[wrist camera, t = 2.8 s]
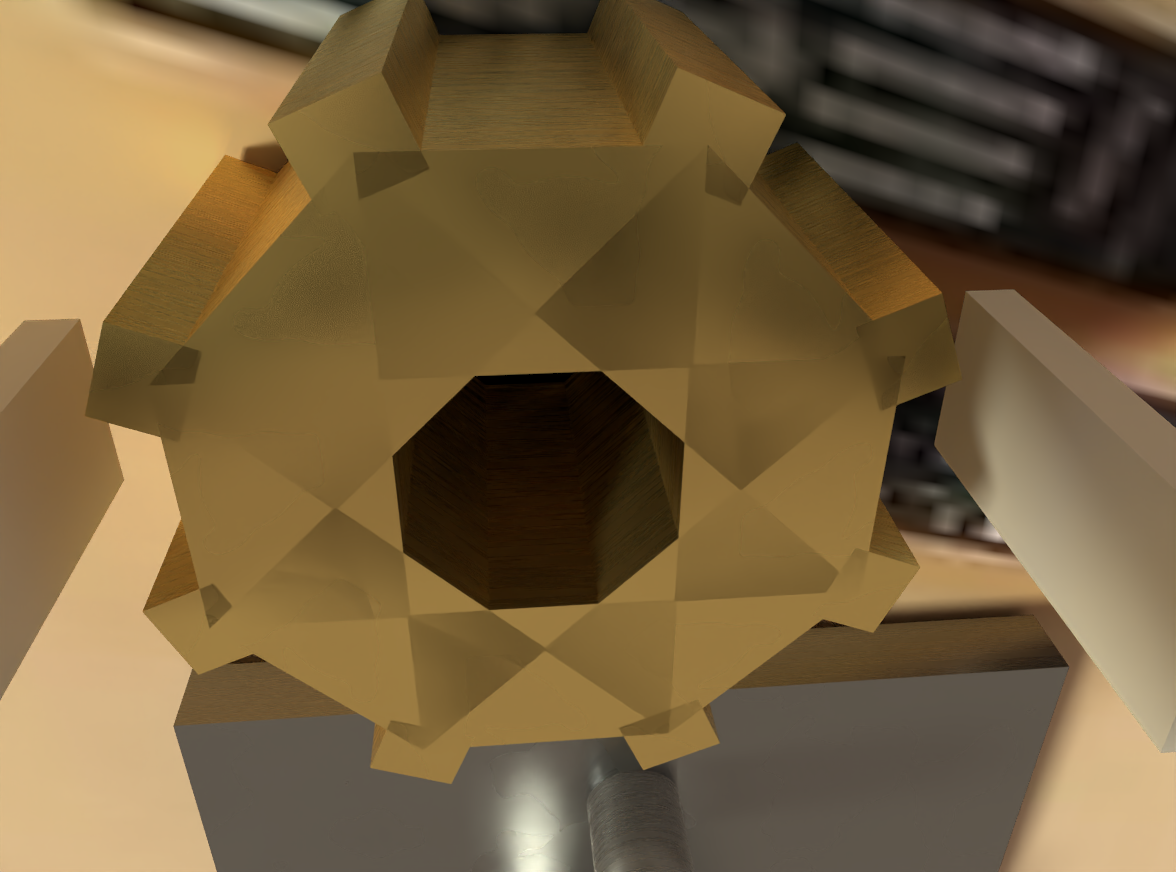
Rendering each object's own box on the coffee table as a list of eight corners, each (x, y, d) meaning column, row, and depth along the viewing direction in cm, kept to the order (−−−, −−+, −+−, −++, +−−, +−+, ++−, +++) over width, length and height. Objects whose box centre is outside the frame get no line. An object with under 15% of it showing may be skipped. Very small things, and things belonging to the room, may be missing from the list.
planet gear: (160, -18, 14) (-17, 78, 9) (845, -23, 15) (1034, 62, 10) (271, 543, 19) (199, 802, 14) (777, 516, 20) (878, 753, 15)
